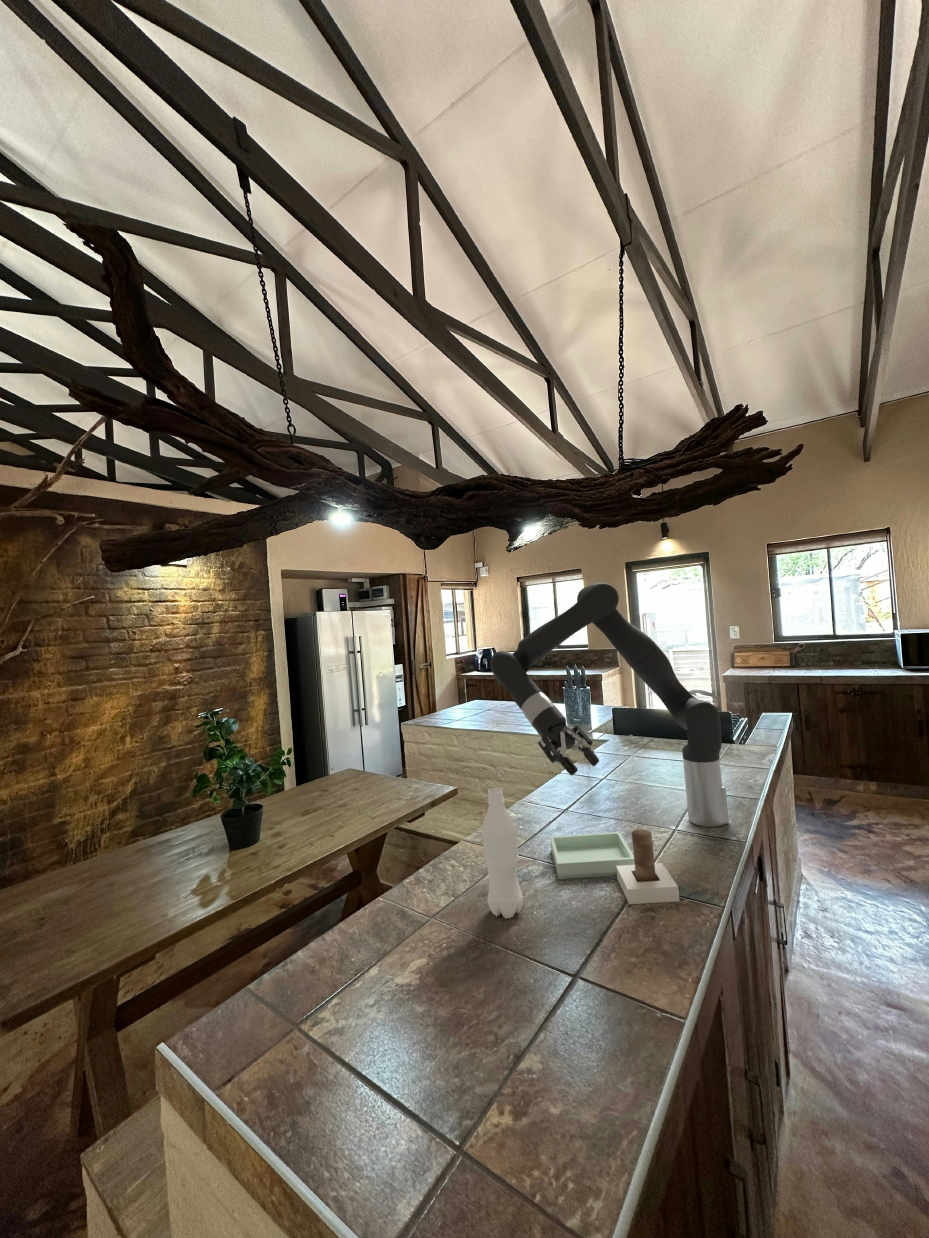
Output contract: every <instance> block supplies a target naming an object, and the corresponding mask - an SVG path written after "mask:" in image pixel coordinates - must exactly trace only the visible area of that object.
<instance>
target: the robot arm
mask: <svg viewBox="0 0 929 1238" xmlns="http://www.w3.org/2000/svg"><path fill="white" fill-rule="evenodd" d="M619 600H620V597H619V593H618V590H617V589H616V588H615V587H614V586H613V585H612V584H609V583H607V582H596V583H592V584H590V585H586V586H585V587H583V588H582V589H581V590H580V591H579V592H578V593H577V598H576V603H575V604H574V605H572V606H571V607H569V609H566V610H565V611H564V612H562V613H561V614H559V615H558V616H556V617H554V618H552V619H551V620H549V621H547V622H545V623H543V624H542V625H540V626H538V627H537V628H536V629H535V630H533V631H532V632H530V633H529V634H528V635H527V636H525V637H524V638H522V639H521V640H520V641H519V642H518V645H517V648H516V650H515V651H514V652H513V653H511V652H510V651H507V650H501V651H500V650H499V651H497V652H495V653H494V654H493V655H492V657H491V658H490V662H489V665H490V670H491V672H492V674H493V676H494V678H495V680H496V681H497V683H499V684H501V685H503V686H504V687H505V688H506V690H507V691H508V693H509V695H510V697H511V698H512V700H513V702H514V703H515V704H516V705H517V707H519V709H520V710H521V712H522V713H523V715H524V717H525V718H526V720H527V721H528V723H530V725H531V727H533V729H534V730H535V731H536V732H537V734H538V735H539V736H540V739H539V741H538V742H537V744H538V746H539V747H540V748H541V750H542V751H543V753H544V754H545V756H546V757H547V759H548V760H549V762H551V763H553V764H554V763H556V762H557V763H558V764H560V765H562V767H563V769H564V770H565V772H567V773H568V774H569V775H570V776H574V775H575V774H576V773H577V772H578V767H577V766H576V765H575V764H574V762H573V761H572V760H571V758H570V757H569V756H567V752H566V751H567V750H570V749H571V750H573V751H578V752H580V753H581V754H583V756H584V757H585V759H586V760H587V761H588V762H589V764H591V766H592V767H594V766H597V765H598V763H599V762H600V759H599V757H598V756H597V754H595V752H594V751H593V750H592V748H591V747H592V745H593V743H594V742H593V741H592V739H591V738H590V737H589V736H588V734H586V732H584V730H583V729H582V728H581V727H580V726H579V725H577V724H575V725H574V726H573V727H572V728H570V727H569V726H568V725H567V719H566V717H565V716H564V714H562V712H561V711H560V710H559V709H558V708H557V706H556V705H555V704H554V703H553V702H552V700H551V699H550V698H549V697H548V696H547V695H546V694H545V693H544V692H543V691H542V689H540V688H539V686H538V685H537V684H536V683H535V682H534V681H533V679H531V677H530V676H529V675H528V674H527V673H528V672H529V670H530V669H532V667H533V666H534V665H535V663H537V661H540V660H542V658H544V657H545V656H546V655H548V654H549V653H551V652H552V651H553V650H554V649H555V648H557V647H559V646H560V645H561V644H562V643H564V642H565V641H566V640H568V639H569V638H571V637H572V636H573V635H574V634H576V633H577V632H579V631H581V630H583V628H585V627H586V626H588V625H590V624H593V625H594V626H595V627H596V628H598V630H599V631H600V632H601V633H603V635H604V636H605V637H606V638H607V639H608V641H609V642H610V643H611V645H612V646H613V647H614V648H615V650H617V652H618V653H619V654H620V656H622V658H623V660H624V661H626V663H627V664H628V666H629V667H630V668H631V669H632V670H633V672H634V673H635V674H636V675H637V676H638V677H639V678H640V679H641V680H642V682H644V684H645V685H647V687H649V689H650V690H651V691H652V692H653V693H654V694H656V696H657V697H658V698H659V700H660V701H661V702H662V704H663V705H664V707H665V708H666V709H667V710H668V712H669V713H670V715H671V716H672V718H673V720H674V721H675V722H676V724H677V725H679V727H680V728H682V729H684V730H686V731H687V733H686V734H687V735H686V736H687V744H686V745H683V747H682V749H681V753H682V762H683V773H684V783H685V784H684V785H685V794H686V795H685V796H686V805H687V815H688V821H689V822H691V823H692V824H693V825H696V826H700V827H705V828H707V827H709V828H714V827H715V828H716V827H721V826H724V825H727V824H730V821H729V820H730V818H729V810H728V799H727V790H726V789H727V788H726V786H723V780H722V779H723V778H722V768H721V758H720V751H721V749H722V743H723V742H722V725H721V718H720V717H721V716H720V713H719V710H718V709H717V707H716V706H715V705H714V704H712V703H711V702H709V701H706V700H703V699H699V698H697V697H695V696H694V695H693V694H691V693H690V691H688V689H686V687H684V685H683V684H682V683H681V682H680V680H679V679H678V677H677V676H676V674H675V671H674V668H673V666H672V663H671V661H670V659H669V658H668V657H667V655H666V654H665V652H664V651H663V650H662V649H661V648H660V646H659V645H658V644H657V643H656V642H655V641H654V639H652V637H650V636H648V635H647V634H646V633H644V632H643V631H642V630H641V629H639V628H638V627H636V625H633V624H632V623H631V622H629V621H628V620H627V619H626V618H625V617H624V616H623V615H622V614H621V612H619V610H618V609H617V607H618V604H619ZM584 740H585V741H584Z"/></svg>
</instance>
